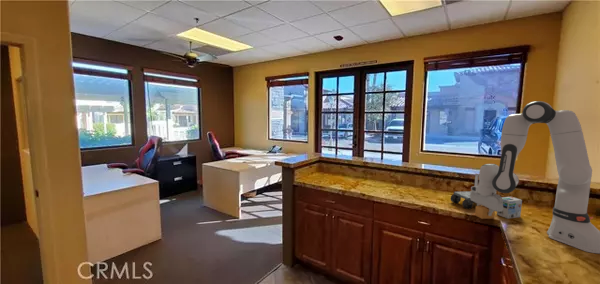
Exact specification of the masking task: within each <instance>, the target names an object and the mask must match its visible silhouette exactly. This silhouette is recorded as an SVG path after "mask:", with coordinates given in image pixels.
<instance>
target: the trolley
mask: <svg viewBox="0 0 600 284" xmlns="http://www.w3.org/2000/svg"><path fill="white" fill-rule="evenodd" d="M474 176H475V177H474V186H478V184H479V173H475V174H474ZM470 193H471V190H470V191H469V190H468V191H453V194H451V196H450V201H451V202H452V203H454V204H459V203H460V202H461V200H462V199H463V201H462V203H461V205H462V207H463V208H465V209H467V210H471V209H472V208H474V204H477V203H476V202H473V201H471V199H470Z"/></svg>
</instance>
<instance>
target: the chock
mask: <svg viewBox="0 0 600 284" xmlns="http://www.w3.org/2000/svg"><path fill="white" fill-rule="evenodd" d="M489 211H490V210H489V208H487V207H485V206H482V205H481V206H477V205H475V211H474V212H475V214H474V216H476V217H477V218H480V219H482V220H484V219H486V220H487V219H494V218H495V213H496V211H493V213H492V216H489V215H487V212H489Z"/></svg>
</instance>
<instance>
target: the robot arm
mask: <svg viewBox="0 0 600 284" xmlns="http://www.w3.org/2000/svg"><path fill="white" fill-rule="evenodd" d="M533 124H546V125H547V127H548V130H549V134H550V138H551V142H552V147H553V153H554V159H555V164H556V170H557V171H556V172H557V175H558V180H557V181H558V182H557V185H556V186H557V187H556V194H555V202H554V206H553V207H552V219H551V222H550V226H549V228H548V230H547V231H546V234H547V236H548V238H549V239H551V240H555V241H557V242H559V243H563V244H565V245H567V246H568V245H569V246H571V247H572V248H576V249H579V250H581V251H584V252H586V253H590V254H591V253H593V254H600V230H599V229H598V228H597V227H596V226H595V225H594V224H592V222H591V220H592V219H593V218H594V216H589V214H588V205H589V197H590V191H591V184H592V176H593V175H592V174H593V169H592V168H593V167H592V166H591V164H590V159H589V155H588V151H587V150H588V149H587V145H586V141H585V137H584V132H583V129H582V124H581V123H580V121H579V117H578V116H577V115H576V113H575V112H574V111H572V110H569V109H561V110H555V109H554V108H553V106H552V105H550V103H548V102H545V101H541V100H538V101H537V100H536V101H530V102H529V103H527V104H526V105H525V106H524V107H523V109H522V112H521V113H514V114H509V115H507V117H506V118H505V120H504V122H503V125H502V129H501V134H500V135H501V136H500V161H499V165H497V164H495V163H484V164H483V165H481V166H480V169H479V173H478V174H479V176H478V185H477V186H475V185H474V186H471V187H470V189H471V190H470V191H471V193H470V199H471V201H473V203H474V202H476V203H475V204H476V206H485V207H487V208H489V210H490V211H489V212H487V215H489V216H492V213H493V211H495V213H497V212H501V211H503V201H502V196H501V195H500V194H497V192H499V193H501V194H510V193H512V192H514V190H516V187H517V186H518V184H519V182H520V179H519V176H518V175H517V174H515V167H516V166H515V165H516V162H517V161H516V160H517V158H518V156H519V154H520V153H521V152H522V150H523V149H524V147H525V145H526V142H527V138H528V133H529V128H530V126H531V125H533Z"/></svg>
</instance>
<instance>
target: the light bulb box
mask: <svg viewBox="0 0 600 284" xmlns="http://www.w3.org/2000/svg"><path fill="white" fill-rule="evenodd" d="M501 197H502V196H501ZM502 201H503V211H501V212H496V215H497V216H500V217H501V218H505V219H515V218H521V216H522V215H521V214H522V206H523V205H522V204H523V199H520V198H517V197H513V196H504V197H502Z"/></svg>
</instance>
